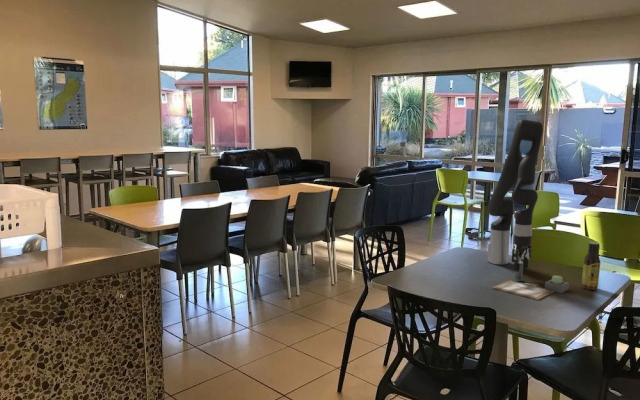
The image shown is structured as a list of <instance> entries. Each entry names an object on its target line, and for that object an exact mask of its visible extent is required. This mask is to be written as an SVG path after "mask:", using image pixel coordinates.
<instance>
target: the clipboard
mask: <svg viewBox="0 0 640 400" xmlns="http://www.w3.org/2000/svg"><path fill="white" fill-rule="evenodd" d="M491 289H492V290H497V291H500V292H504V293H509V294H512V295H516V296H520V297H524V298H528V299H531V300H536V301H540V300H542V299H544V298H546V297H547V296H550V295H551V294H553V293H555V291H553V290H549V289H545V287H539V286H538V285H537V284H533V283H528V282H525V283H524V282H521V281H516V280H510V279H508V280H506V281H504V282H502V283H501V282H500V283H499V284H497V285H494V286H492V287H491Z"/></svg>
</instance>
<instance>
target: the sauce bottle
mask: <svg viewBox="0 0 640 400" xmlns="http://www.w3.org/2000/svg"><path fill="white" fill-rule="evenodd" d="M599 248H600V243H598V242H593V241H592V242H591V241H589V242H588V249H587V250H588V251H587V254H586V255H585V257H584V261H583V268H582V276H581V277H582V278H581V288H583V289H585V290H590V291H595V290H597V289H598V286H599V279H600V269H601V260H600V256H599Z"/></svg>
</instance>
